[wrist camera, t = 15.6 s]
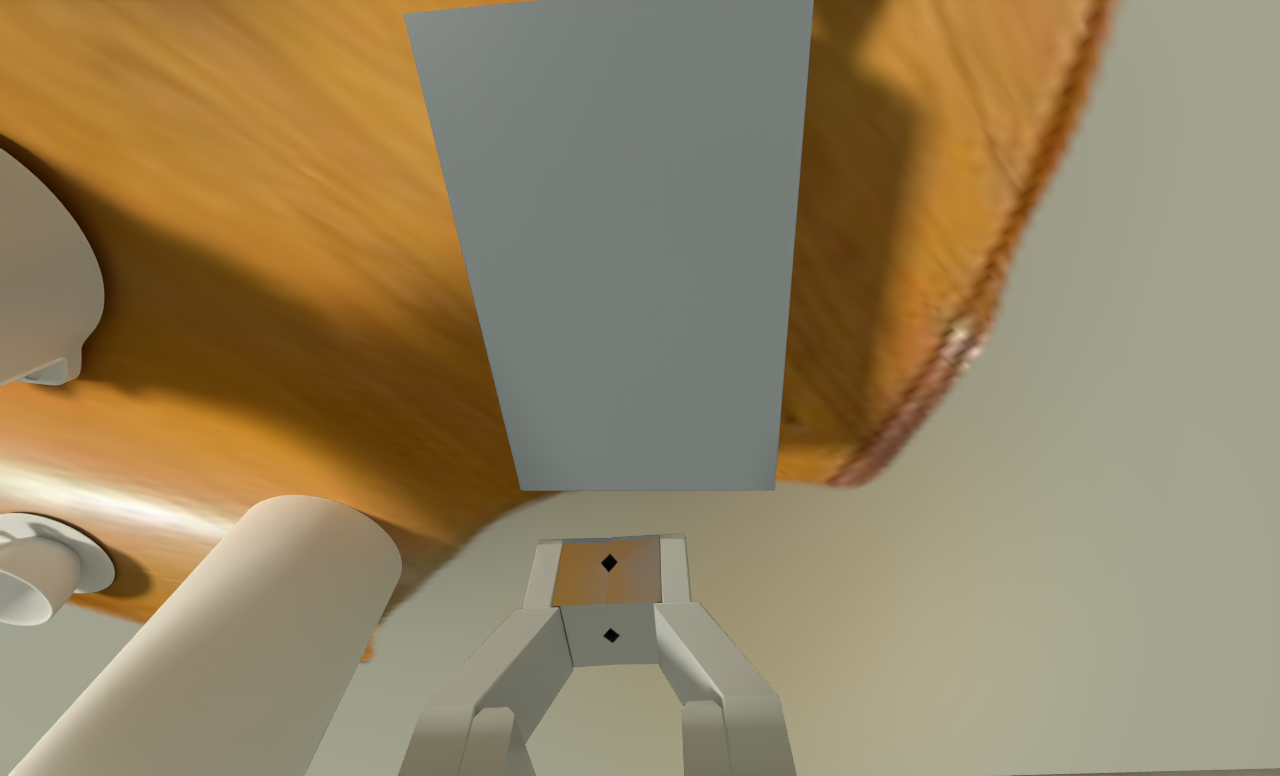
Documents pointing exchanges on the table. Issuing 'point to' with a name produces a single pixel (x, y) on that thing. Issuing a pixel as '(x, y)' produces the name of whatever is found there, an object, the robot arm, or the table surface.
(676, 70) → the lid
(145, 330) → the table surface
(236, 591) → the canister
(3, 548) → the teacup
